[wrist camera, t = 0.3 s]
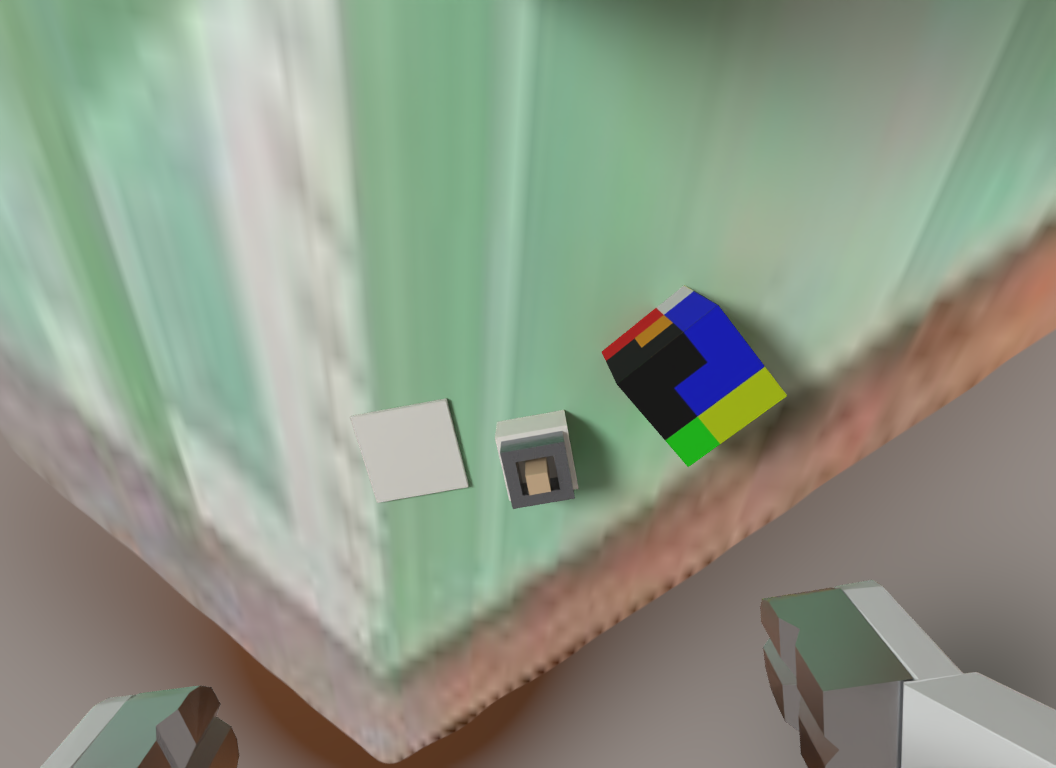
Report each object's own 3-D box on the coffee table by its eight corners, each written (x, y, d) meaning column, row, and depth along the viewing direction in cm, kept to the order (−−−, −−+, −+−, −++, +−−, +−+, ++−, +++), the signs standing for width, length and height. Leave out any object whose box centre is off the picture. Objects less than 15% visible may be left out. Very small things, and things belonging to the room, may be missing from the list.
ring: (501, 441, 54) (499, 453, 51) (562, 430, 53) (564, 441, 51) (513, 495, 55) (512, 508, 53) (572, 485, 55) (574, 498, 53)
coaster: (351, 415, 57) (349, 417, 56) (446, 398, 56) (445, 400, 56) (378, 499, 60) (377, 502, 60) (468, 484, 60) (468, 487, 59)
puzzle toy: (683, 285, 53) (717, 304, 43) (742, 361, 55) (787, 395, 46) (601, 351, 55) (616, 384, 45) (661, 422, 57) (688, 467, 48)
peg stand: (497, 421, 57) (492, 456, 50) (564, 409, 57) (569, 442, 49) (510, 481, 59) (508, 523, 52) (575, 470, 59) (582, 510, 51)
